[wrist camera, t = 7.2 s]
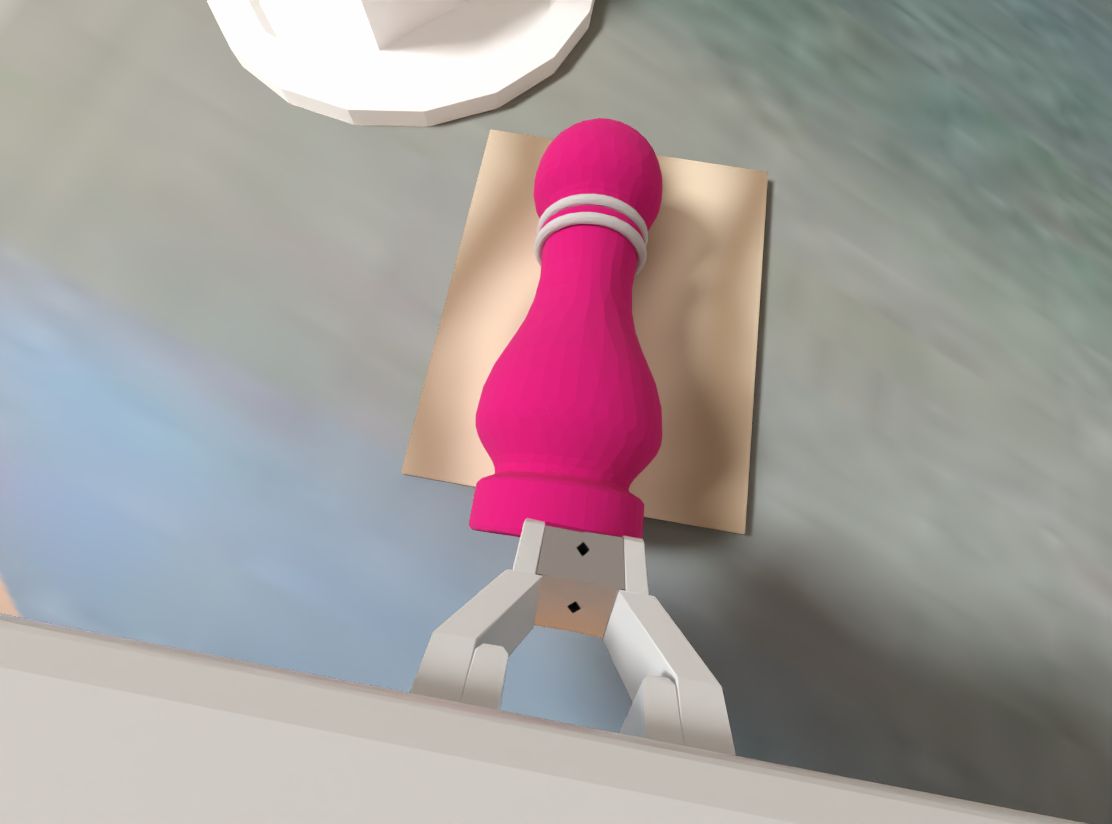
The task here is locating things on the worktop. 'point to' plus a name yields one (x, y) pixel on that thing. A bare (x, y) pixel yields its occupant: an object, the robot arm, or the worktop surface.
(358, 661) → the worktop surface
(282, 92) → the dish
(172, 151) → the worktop surface
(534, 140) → the wooden board
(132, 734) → the robot arm
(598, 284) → the pepper mill
